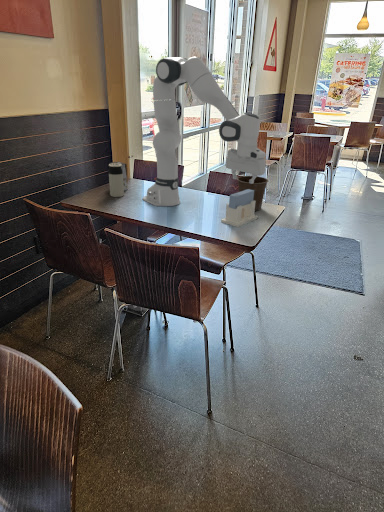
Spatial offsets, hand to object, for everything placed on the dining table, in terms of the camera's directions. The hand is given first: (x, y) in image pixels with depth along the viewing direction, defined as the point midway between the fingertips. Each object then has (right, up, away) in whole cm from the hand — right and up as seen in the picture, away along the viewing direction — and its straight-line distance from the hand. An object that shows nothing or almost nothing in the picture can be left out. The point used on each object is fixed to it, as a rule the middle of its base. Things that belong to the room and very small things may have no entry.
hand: (242, 181), depth 165 cm
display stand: (0, -18, +8) cm, 20 cm away
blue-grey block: (0, -10, +5) cm, 12 cm away
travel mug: (-69, 0, +40) cm, 79 cm away
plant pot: (+7, -9, +26) cm, 29 cm away
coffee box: (-70, +6, +52) cm, 87 cm away
